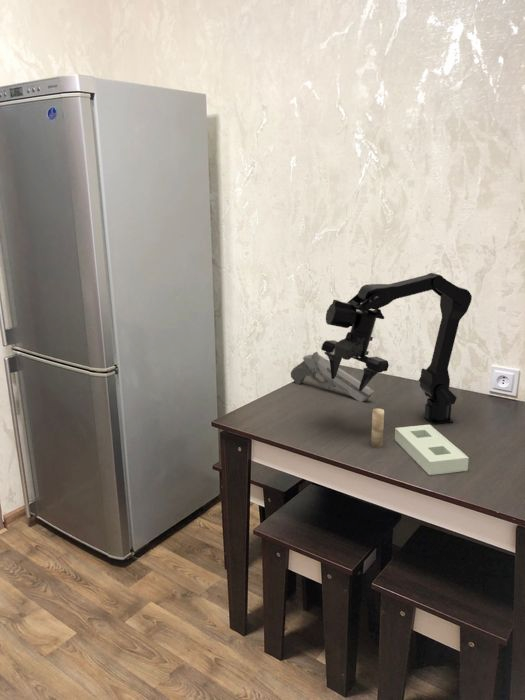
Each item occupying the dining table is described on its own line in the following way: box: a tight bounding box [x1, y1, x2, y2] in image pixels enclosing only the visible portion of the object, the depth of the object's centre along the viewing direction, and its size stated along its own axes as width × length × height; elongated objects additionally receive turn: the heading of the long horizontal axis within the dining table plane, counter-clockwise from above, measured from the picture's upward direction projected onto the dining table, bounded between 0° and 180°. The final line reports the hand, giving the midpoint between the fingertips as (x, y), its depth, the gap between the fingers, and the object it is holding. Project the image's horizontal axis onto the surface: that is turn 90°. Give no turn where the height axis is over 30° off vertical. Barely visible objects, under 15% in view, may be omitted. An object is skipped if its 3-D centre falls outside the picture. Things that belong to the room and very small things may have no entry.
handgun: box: [290, 351, 375, 403], centre depth 190 cm, size 31×3×15 cm, turn 49°
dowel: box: [370, 407, 385, 449], centre depth 149 cm, size 3×3×10 cm
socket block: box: [394, 424, 470, 476], centre depth 145 cm, size 20×10×4 cm, turn 11°
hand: (346, 384), depth 157 cm, fingers open, 9 cm apart
